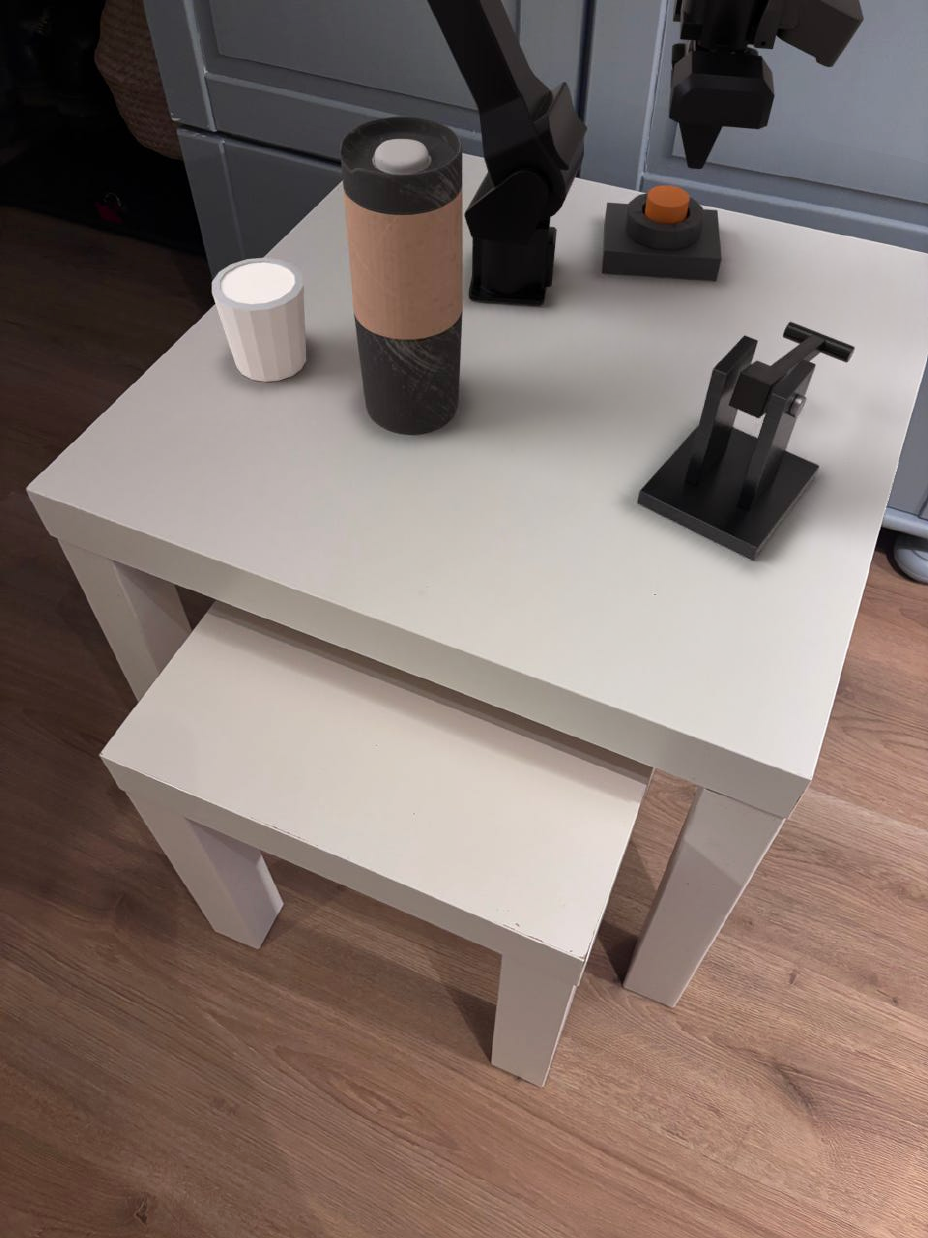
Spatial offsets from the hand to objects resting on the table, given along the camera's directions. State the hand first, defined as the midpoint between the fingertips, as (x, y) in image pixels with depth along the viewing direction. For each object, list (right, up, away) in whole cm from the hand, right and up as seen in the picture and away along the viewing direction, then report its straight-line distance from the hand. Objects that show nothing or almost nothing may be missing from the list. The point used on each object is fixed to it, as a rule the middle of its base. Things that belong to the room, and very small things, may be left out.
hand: (695, 166), depth 73 cm
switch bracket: (+2, -25, -3) cm, 25 cm away
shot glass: (-33, -13, +6) cm, 36 cm away
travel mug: (-21, -17, +2) cm, 27 cm away
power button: (0, +2, +13) cm, 13 cm away
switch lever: (+5, -17, -6) cm, 19 cm away
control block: (0, -1, +15) cm, 15 cm away
